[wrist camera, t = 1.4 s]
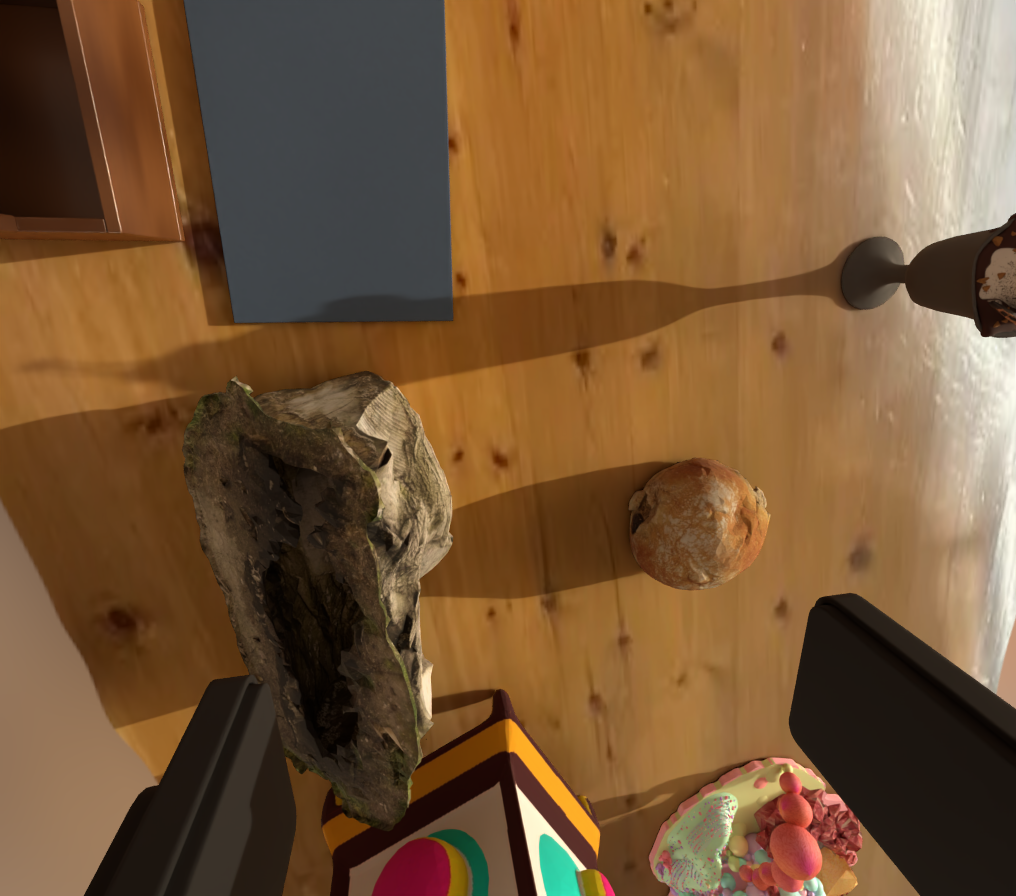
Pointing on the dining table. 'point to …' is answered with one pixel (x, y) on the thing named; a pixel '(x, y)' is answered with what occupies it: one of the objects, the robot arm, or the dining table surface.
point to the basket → (82, 125)
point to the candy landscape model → (759, 836)
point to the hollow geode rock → (327, 570)
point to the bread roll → (697, 524)
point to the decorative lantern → (475, 825)
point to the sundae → (943, 277)
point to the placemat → (328, 156)
